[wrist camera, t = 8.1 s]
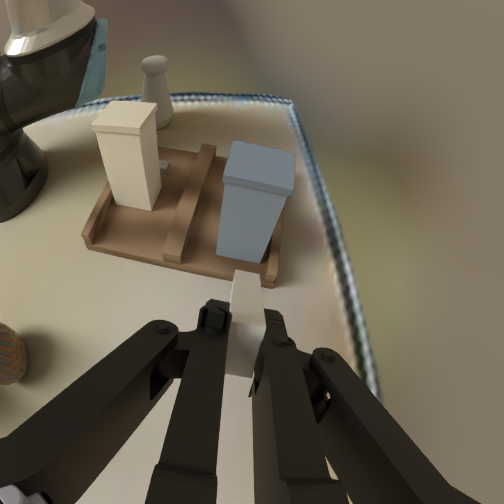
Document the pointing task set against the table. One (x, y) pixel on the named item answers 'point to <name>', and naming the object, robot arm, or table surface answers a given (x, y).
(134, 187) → the cream tall block
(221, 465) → the table surface
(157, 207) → the wooden divided tray
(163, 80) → the salt shaker
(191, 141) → the table surface
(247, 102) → the table surface
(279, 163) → the blue-grey rectangular block
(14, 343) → the vase
